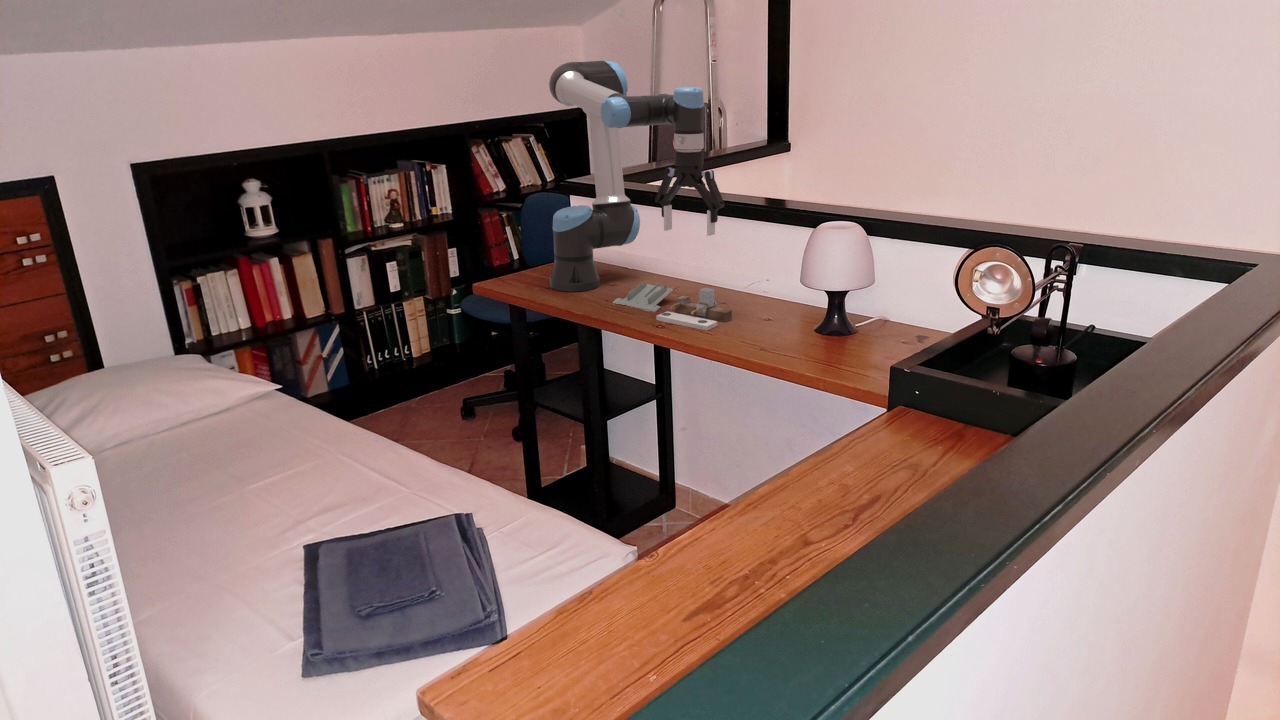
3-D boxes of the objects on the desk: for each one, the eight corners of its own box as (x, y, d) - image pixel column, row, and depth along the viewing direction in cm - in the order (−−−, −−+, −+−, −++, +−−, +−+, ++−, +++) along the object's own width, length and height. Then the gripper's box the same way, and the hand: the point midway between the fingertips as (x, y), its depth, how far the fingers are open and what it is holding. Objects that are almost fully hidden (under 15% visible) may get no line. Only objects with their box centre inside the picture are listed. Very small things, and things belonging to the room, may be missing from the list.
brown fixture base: (666, 315, 246) (666, 301, 245) (681, 309, 252) (681, 295, 250) (716, 326, 237) (717, 311, 236) (731, 319, 242) (731, 304, 241)
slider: (687, 318, 241) (687, 294, 239) (706, 310, 248) (707, 286, 246) (696, 320, 239) (697, 296, 237) (716, 311, 246) (716, 288, 244)
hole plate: (656, 320, 243) (656, 315, 242) (667, 315, 246) (667, 310, 246) (706, 330, 233) (707, 325, 233) (717, 325, 237) (717, 321, 237)
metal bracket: (637, 275, 265) (680, 283, 257) (641, 292, 268) (683, 300, 260) (608, 299, 256) (651, 308, 248) (612, 317, 259) (655, 326, 251)
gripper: (641, 149, 238) (642, 230, 245) (722, 154, 224) (721, 239, 231) (657, 146, 244) (658, 225, 251) (738, 151, 230) (737, 234, 236)
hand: (689, 232), depth 241 cm, fingers open, 13 cm apart
